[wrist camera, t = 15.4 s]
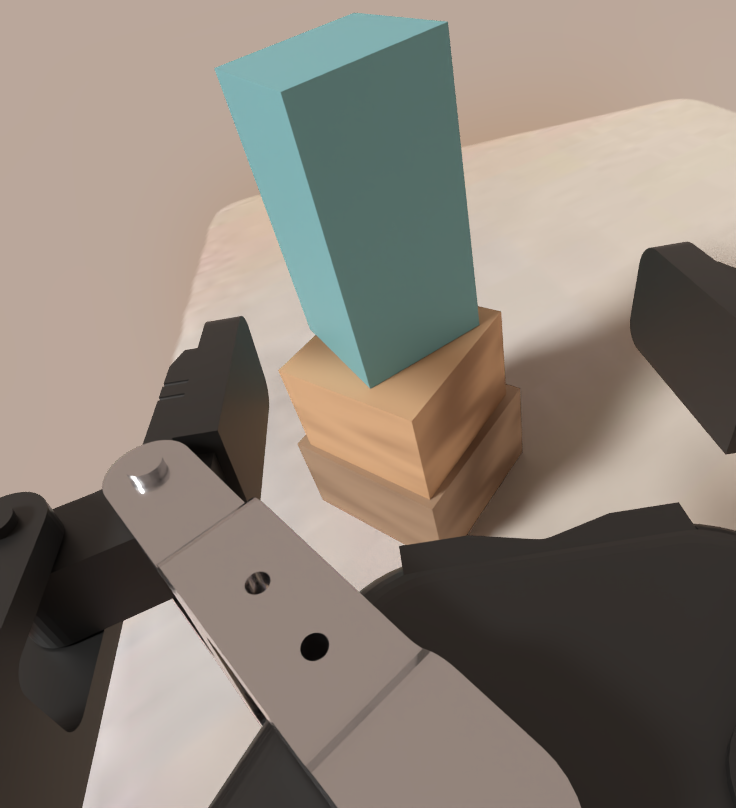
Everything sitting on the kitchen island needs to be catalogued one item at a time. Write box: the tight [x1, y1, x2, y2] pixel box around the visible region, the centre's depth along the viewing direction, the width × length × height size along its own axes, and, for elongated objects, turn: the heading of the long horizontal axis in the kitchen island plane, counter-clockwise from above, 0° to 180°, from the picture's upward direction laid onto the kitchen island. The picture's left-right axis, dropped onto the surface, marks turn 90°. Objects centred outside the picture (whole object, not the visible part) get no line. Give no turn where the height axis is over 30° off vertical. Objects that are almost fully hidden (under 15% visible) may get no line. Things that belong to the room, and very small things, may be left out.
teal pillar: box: [215, 13, 480, 389], centre depth 21 cm, size 6×6×11 cm
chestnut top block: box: [278, 306, 506, 500], centre depth 26 cm, size 7×7×5 cm
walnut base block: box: [298, 384, 522, 545], centre depth 30 cm, size 8×8×5 cm
